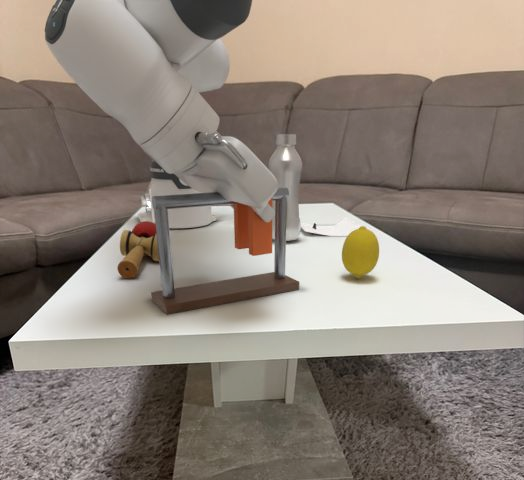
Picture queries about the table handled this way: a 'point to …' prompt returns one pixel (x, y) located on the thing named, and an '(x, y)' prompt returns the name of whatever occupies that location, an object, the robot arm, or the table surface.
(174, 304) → the rail
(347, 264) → the lemon
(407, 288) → the table surface
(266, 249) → the orange u-shaped hook
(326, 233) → the folded paper
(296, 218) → the silver metal bottle
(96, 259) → the table surface
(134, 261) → the kendama
